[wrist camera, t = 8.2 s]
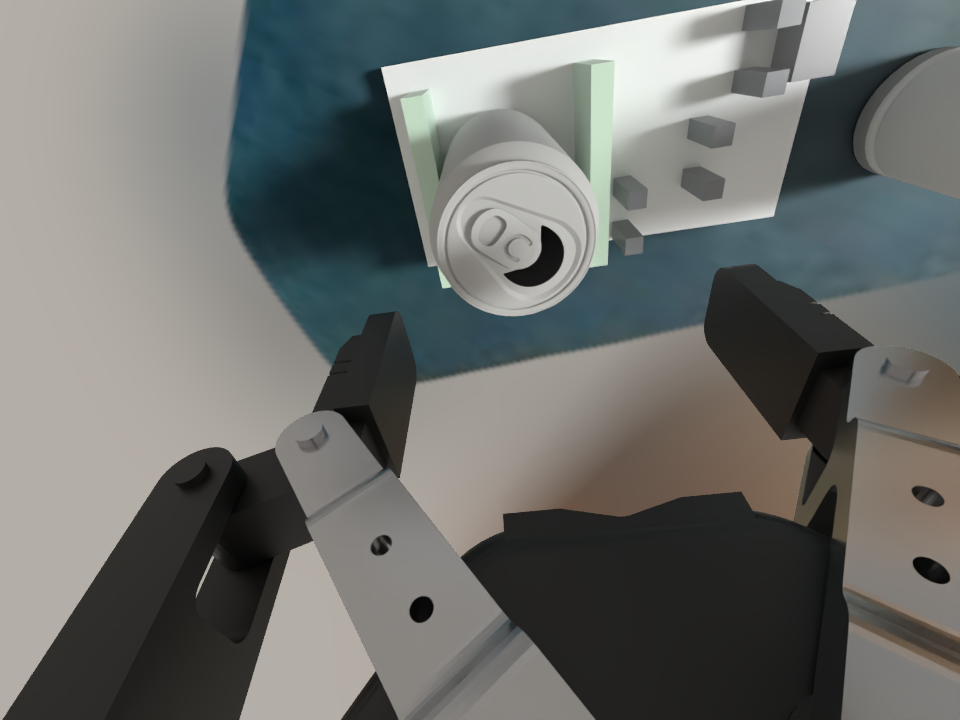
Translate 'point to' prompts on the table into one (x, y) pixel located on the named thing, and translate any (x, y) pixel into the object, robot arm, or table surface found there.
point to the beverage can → (512, 216)
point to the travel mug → (915, 124)
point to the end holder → (589, 142)
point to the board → (654, 105)
